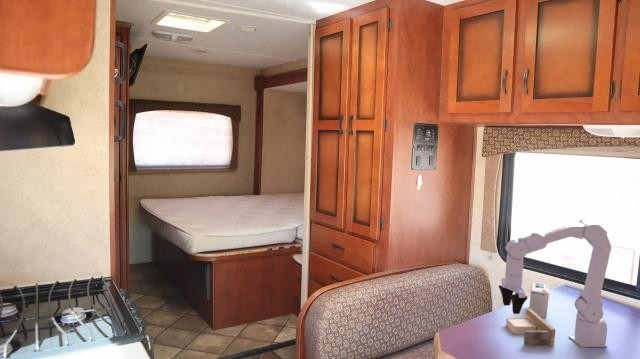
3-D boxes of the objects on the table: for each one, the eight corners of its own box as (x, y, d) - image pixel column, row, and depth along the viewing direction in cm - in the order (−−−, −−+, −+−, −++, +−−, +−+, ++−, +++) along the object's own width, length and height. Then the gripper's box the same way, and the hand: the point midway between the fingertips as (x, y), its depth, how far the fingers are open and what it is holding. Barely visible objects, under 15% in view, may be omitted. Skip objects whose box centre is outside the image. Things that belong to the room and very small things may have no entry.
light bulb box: (529, 306, 197) (531, 282, 196) (546, 309, 194) (549, 284, 193) (528, 315, 187) (530, 290, 186) (547, 318, 184) (549, 293, 183)
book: (526, 325, 178) (526, 318, 178) (535, 334, 171) (536, 326, 171) (506, 325, 178) (506, 318, 177) (514, 334, 171) (514, 326, 170)
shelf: (529, 323, 180) (530, 308, 179) (554, 345, 162) (555, 329, 161) (503, 323, 180) (504, 308, 179) (525, 345, 162) (526, 329, 161)
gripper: (494, 267, 174) (492, 301, 175) (512, 280, 159) (509, 317, 161) (512, 267, 174) (510, 301, 176) (532, 280, 160) (529, 317, 161)
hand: (511, 309), depth 168 cm, fingers open, 7 cm apart
